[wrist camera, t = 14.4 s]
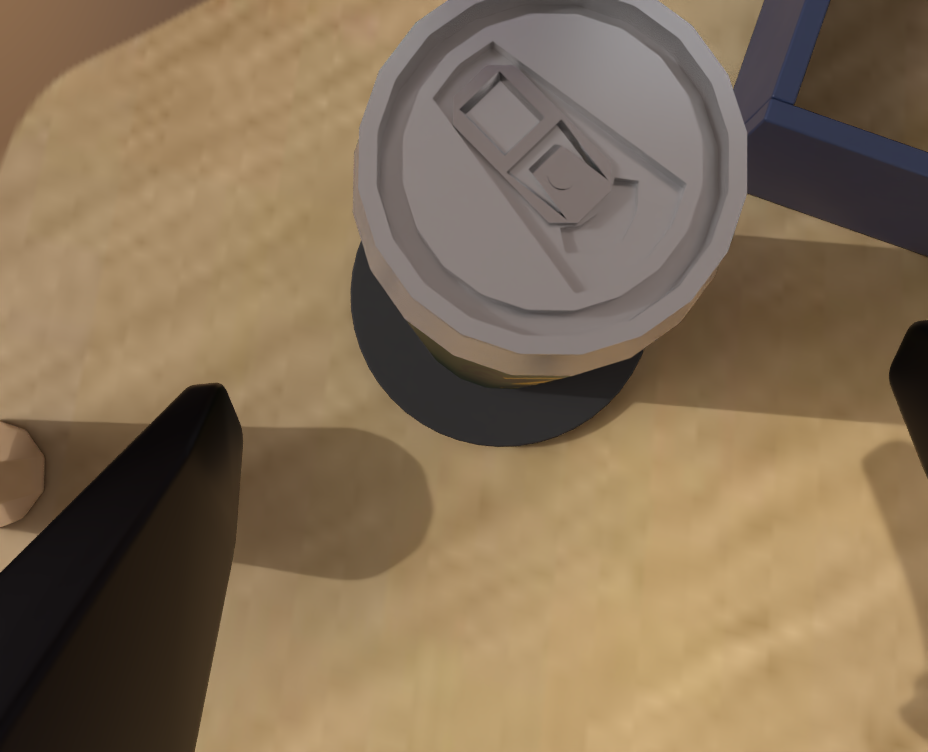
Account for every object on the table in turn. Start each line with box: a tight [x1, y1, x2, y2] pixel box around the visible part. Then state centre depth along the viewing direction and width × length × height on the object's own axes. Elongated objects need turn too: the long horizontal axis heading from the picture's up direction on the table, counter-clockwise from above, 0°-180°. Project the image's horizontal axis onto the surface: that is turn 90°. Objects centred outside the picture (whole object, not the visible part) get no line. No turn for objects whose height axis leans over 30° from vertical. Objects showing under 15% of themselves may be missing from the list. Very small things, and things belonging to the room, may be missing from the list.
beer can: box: [353, 0, 747, 389], centre depth 15 cm, size 5×5×12 cm
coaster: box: [351, 241, 644, 447], centre depth 21 cm, size 9×9×1 cm
